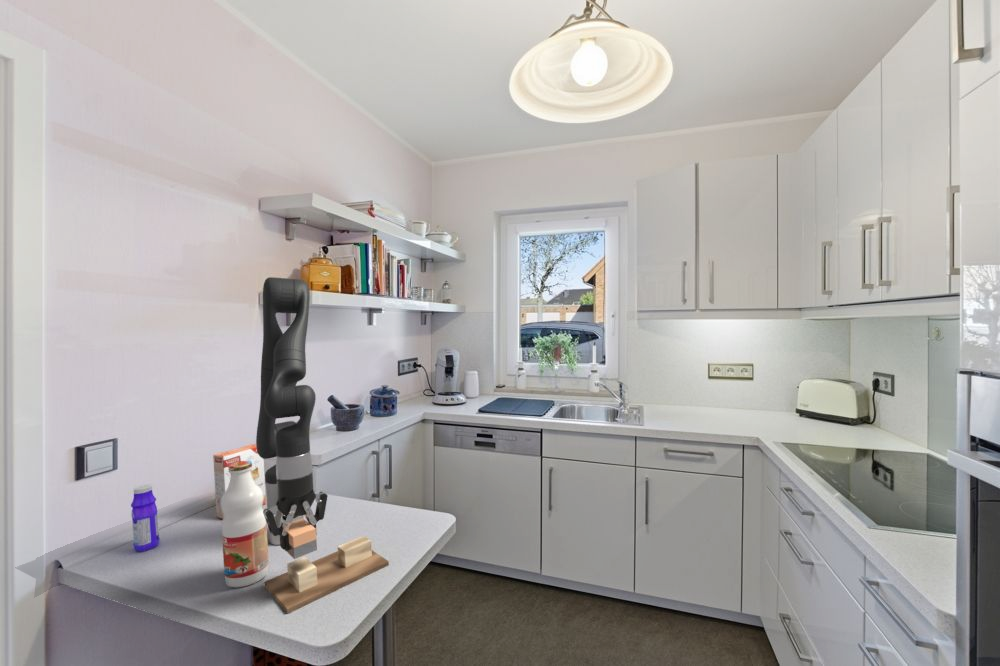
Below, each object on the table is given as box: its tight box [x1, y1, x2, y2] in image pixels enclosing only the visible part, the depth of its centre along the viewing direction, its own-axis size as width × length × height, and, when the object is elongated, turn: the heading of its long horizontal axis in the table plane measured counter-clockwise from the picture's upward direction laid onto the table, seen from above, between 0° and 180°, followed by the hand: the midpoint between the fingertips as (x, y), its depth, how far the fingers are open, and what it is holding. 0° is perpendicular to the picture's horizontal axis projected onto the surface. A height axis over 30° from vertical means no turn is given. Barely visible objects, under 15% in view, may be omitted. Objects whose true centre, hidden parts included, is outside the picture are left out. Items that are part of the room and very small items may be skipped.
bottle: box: [130, 484, 160, 553], centre depth 125 cm, size 7×6×17 cm
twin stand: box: [263, 535, 390, 614], centre depth 106 cm, size 15×24×5 cm, turn 135°
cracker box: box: [212, 443, 267, 520], centre depth 148 cm, size 14×6×21 cm, turn 153°
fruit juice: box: [221, 461, 270, 588], centre depth 107 cm, size 9×9×28 cm
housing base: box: [286, 539, 318, 560], centre depth 102 cm, size 8×5×2 cm, turn 44°
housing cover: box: [287, 518, 317, 548], centre depth 102 cm, size 8×5×2 cm, turn 44°
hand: (298, 544), depth 102 cm, fingers closed on housing base, housing cover, 5 cm apart
